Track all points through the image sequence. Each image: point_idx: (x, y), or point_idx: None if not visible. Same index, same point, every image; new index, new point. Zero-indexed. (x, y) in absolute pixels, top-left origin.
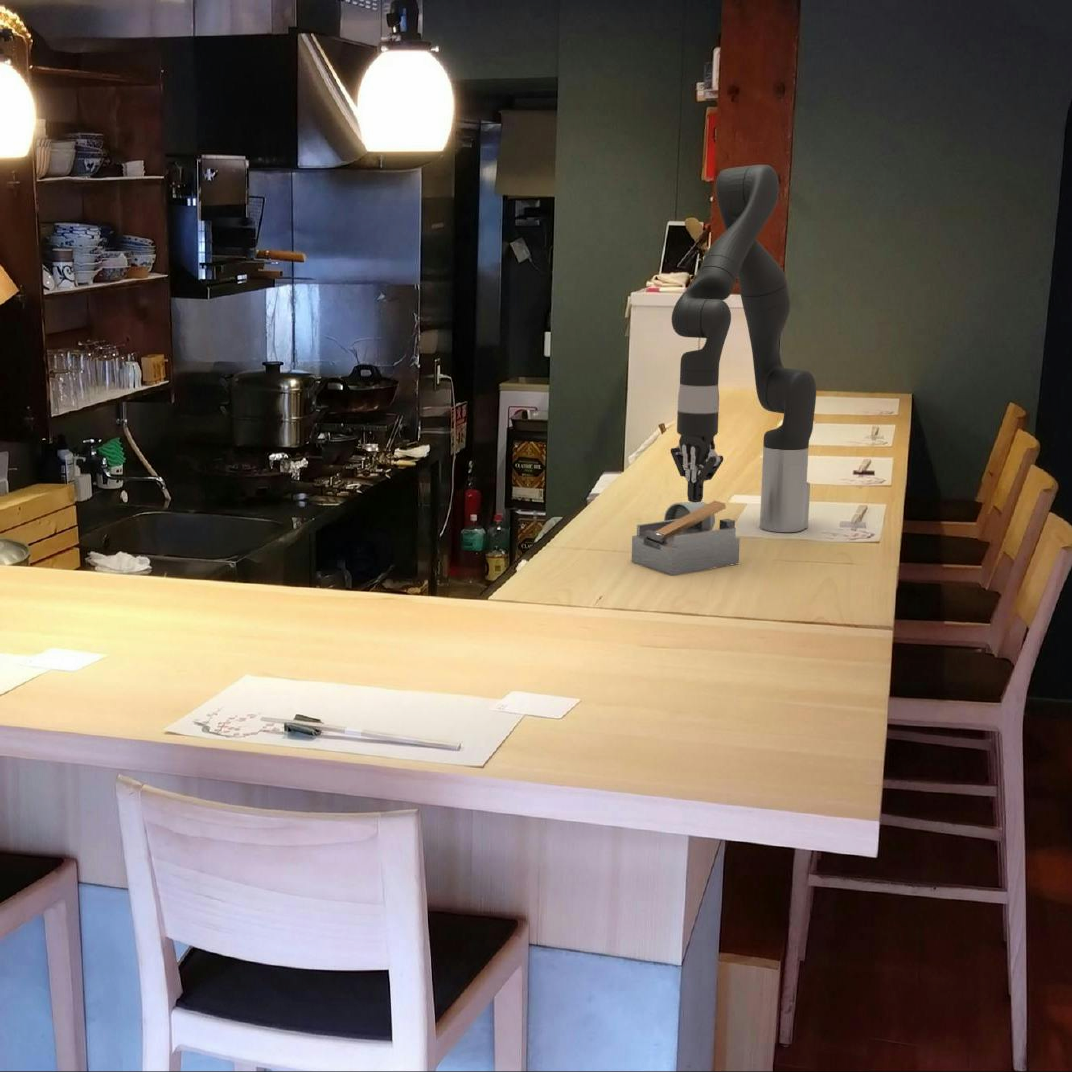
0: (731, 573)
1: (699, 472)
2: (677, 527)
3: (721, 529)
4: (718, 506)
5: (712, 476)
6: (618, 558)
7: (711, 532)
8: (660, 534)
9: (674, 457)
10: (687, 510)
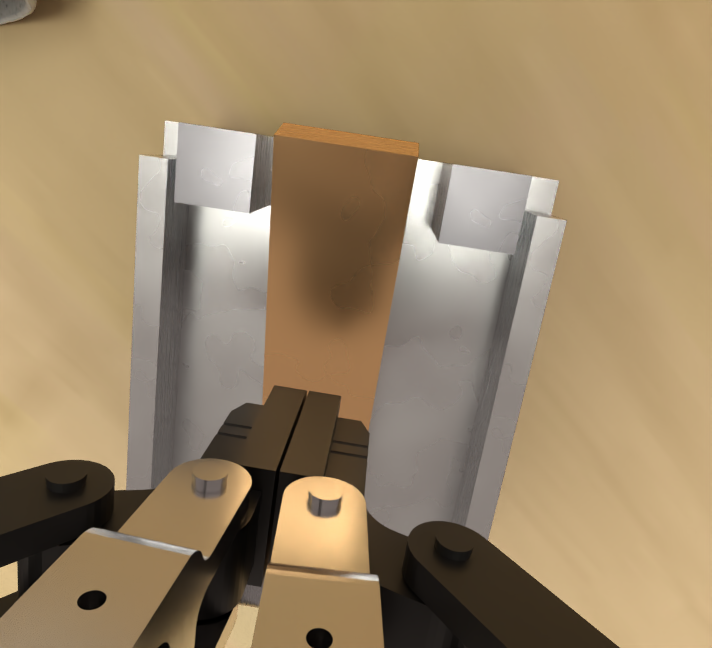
0: (599, 335)
1: (227, 527)
2: None
3: (525, 327)
4: (403, 229)
5: (520, 580)
6: (114, 485)
7: (517, 415)
8: None
9: None
10: None
